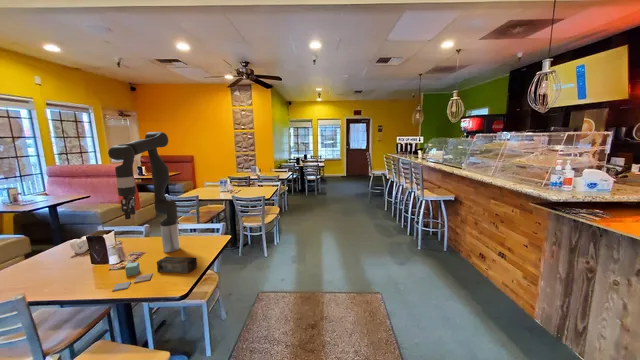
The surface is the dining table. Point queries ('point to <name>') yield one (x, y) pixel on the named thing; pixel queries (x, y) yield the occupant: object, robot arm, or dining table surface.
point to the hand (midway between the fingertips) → (130, 216)
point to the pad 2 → (143, 278)
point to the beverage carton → (177, 264)
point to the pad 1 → (121, 286)
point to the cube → (132, 269)
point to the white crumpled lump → (79, 245)
